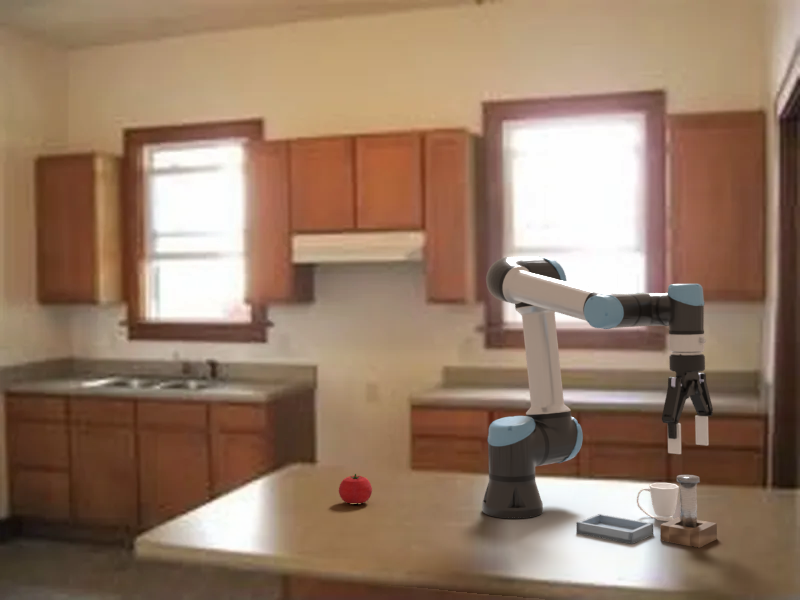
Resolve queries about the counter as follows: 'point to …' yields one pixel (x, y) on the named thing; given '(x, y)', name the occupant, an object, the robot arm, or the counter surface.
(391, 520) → the counter surface
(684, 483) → the pin
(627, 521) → the tray
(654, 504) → the cup
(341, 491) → the tomato
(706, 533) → the socket block
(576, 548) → the counter surface
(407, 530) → the counter surface
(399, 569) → the counter surface
